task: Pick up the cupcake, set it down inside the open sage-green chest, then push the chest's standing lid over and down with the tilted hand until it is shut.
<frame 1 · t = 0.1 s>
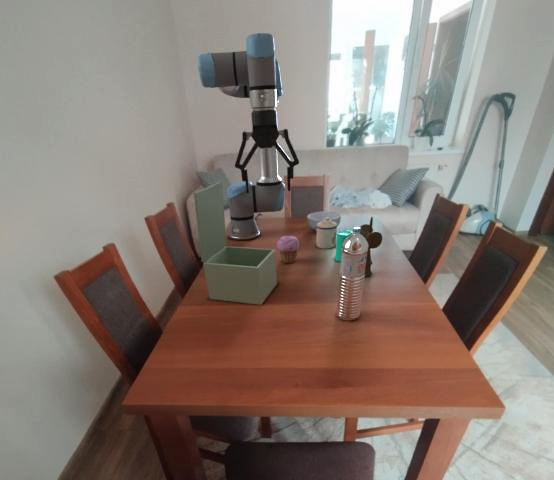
hand: (268, 191, 108), 28 cm above the table, tool pointing down, fingers open, 13 cm apart
cereal bowl: (323, 230, 166), on the table
teacup with lid: (325, 245, 149), on the table
candle: (342, 259, 134), on the table
door: (211, 222, 103), point 22 cm above the table, hinge at 85.0°
water bottle: (347, 316, 98), on the table
chest: (244, 291, 114), on the table
kendama: (364, 275, 121), on the table
cupcake: (288, 261, 135), on the table
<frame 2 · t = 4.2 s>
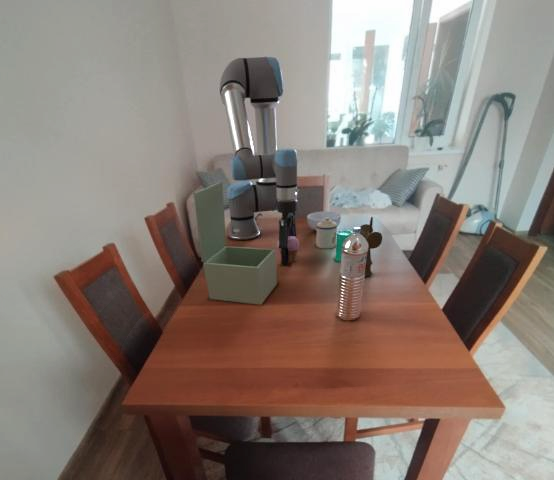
hand: (288, 260, 134), 0 cm above the table, tool pointing down, fingers closed on cupcake, 9 cm apart
cupcake: (288, 261, 135), on the table, touching gripper
everything else where it was.
when the fingers open (10 cm above the table, at t = 10.9 s): cupcake drops 7 cm, resting on chest.
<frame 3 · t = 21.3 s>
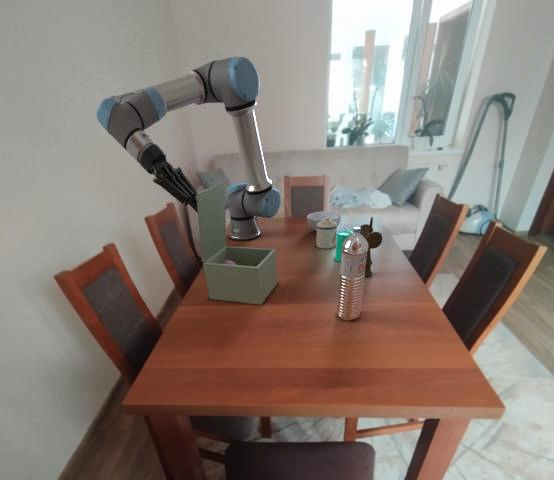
hand: (208, 216, 102), 24 cm above the table, tool tilted 45°, fingers closed
door: (213, 222, 103), point 22 cm above the table, hinge at 82.6°, touching gripper
cupcake: (242, 284, 113), point 2 cm above the table, touching chest
everything else where it was.
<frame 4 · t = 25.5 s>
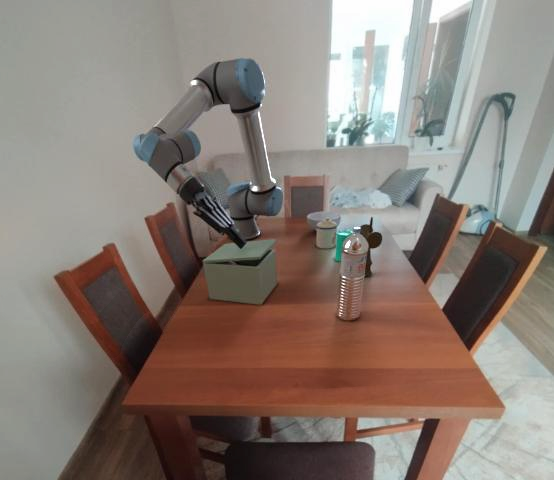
hand: (243, 245, 104), 16 cm above the table, tool tilted 45°, fingers closed
door: (240, 250, 106), point 14 cm above the table, hinge at 7.7°, touching gripper
everything else where it was.
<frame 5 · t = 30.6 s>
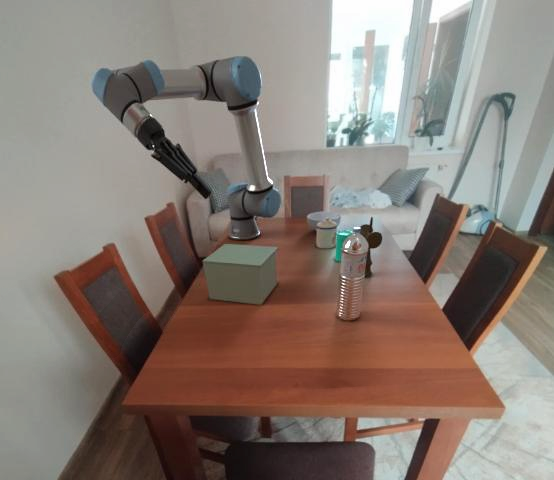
hand: (208, 195, 98), 30 cm above the table, tool tilted 45°, fingers closed
door: (241, 254, 106), point 13 cm above the table, hinge at -0.2°, touching chest
everything else where it was.
at the end: door at +0° (first picture: +85°); cupcake inside the target area in the chest (0.5 cm from its centre), point 2.5 cm above the chest's base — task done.
